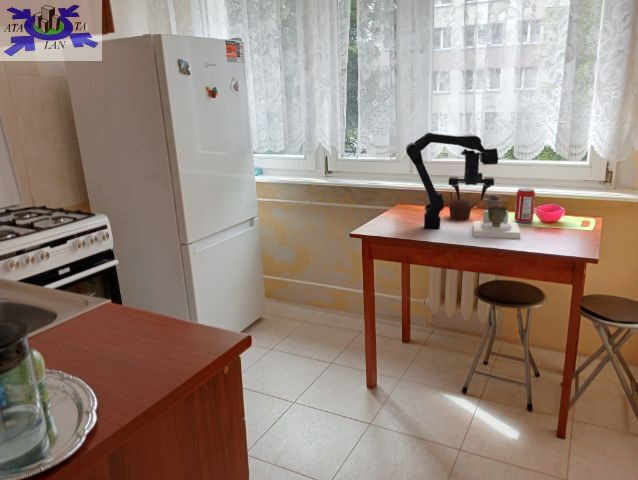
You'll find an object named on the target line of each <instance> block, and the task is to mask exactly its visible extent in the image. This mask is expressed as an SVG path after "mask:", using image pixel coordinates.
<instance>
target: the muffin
mask: <svg viewBox="0 0 638 480" xmlns="http://www.w3.org/2000/svg"><path fill="white" fill-rule="evenodd" d="M447 206H448V209H449V217H450V219H452V220H453V219H454V220H455V221H467V220H470V216H471V211H472V208H473V206H474V204H473V202H471V200H470V199H469V198H467V197H465V196H460V201H459V200H458V196H456V197H453V198H452V199H451V200H450V201H449V202H448V203H447ZM466 219H467V220H466ZM454 220H453V221H454Z"/></svg>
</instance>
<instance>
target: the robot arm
mask: <svg viewBox="0 0 638 480" xmlns="http://www.w3.org/2000/svg"><path fill="white" fill-rule="evenodd" d="M431 143H434V144H442V145H453V146H459V147H462V148H464V149H463V150H462V151H461V152H460V155H462V156H465V157H464V175H463V178H459V176H450V177H448V185H449V186H451V187H452V188H454V190H455V192H456V195H457V196H456V197H458V200H459V201H460V197H461V195H460V184H465V185H466V186H471V185H472V186H477V185H478V184H482V187H481V195H480V201H481V202H482V201H483V199H484V196H485V195H486V191H487V190H488V188H491V187H493V186H495V178H494V177H493V176H484V178H483V173H482V172H479V170H480V167H479V165H480V163H481V164H482V165H497V164H498V162H499V153H498V148H497V147H494V148H485V146H484V145H482V140H481V138H480V137H479V136H477V135H475V134H465V135H450V134H439V133H433V132H426V133H424V135H422V136H421V137H419V139H417V140H415V141H414V142H410V143H408V144H407V145H406V146H405V152H406V155H407V156H408V158H409V159H410V160H411V161H412V163H413V165H414V166H415V168H416V171H417V173H418V175H419V178H420V180H421V183H422V184H423V186H424V189H425V191H426V194H427V199H428V204H427V205H425V207H424V219H423V220H424V221H423V223H424V224H423V229H425V230H426V229H427V230H439V228H440V227H441V216H440V213H441V212H442V211H444V208H445V203H446V201H445V200H444V198H443V195H442V192H441V191H440V190H439V191H437V190H436V189H435V186H434V184H433V182H432V180H431V177H430V175H429V173H428V170H427V168H426V166H425V164H424V160H423V155H422V151H423V150H424V149H425V148H426V147H427V146H429V145H430V144H431ZM467 149H469V150H467ZM475 151H477V152H475Z"/></svg>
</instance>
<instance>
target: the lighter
mask: <svg viewBox="0 0 638 480" xmlns="http://www.w3.org/2000/svg"><path fill="white" fill-rule="evenodd" d="M485 195H486V196H485V197H486V198H484V209H483V211H484V210H488V207H489V206H490V207H492V206H493V208H494V206H496V207H497V206H498V207H499V208H500V206H501V207H502V202H503V200H502V199H500V196H501V195H497V194H495V193H494V194H489V193H486V194H485Z"/></svg>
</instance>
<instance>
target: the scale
mask: <svg viewBox="0 0 638 480" xmlns="http://www.w3.org/2000/svg"><path fill="white" fill-rule="evenodd" d="M482 216H483V217H482V221H478V220H477V221H476V220H475V221H473V222H472V224H473V226H472V227H473V237H476V238H477V237H478V238H479V237H480V238H496V239H497V238H501V239H504V238H505V239H521V230H520V228H519V225H518V222H509V221H508V220H509V211H508V210H506V215H505V219H504V221H503V222H501V225H500V226H499V227H495V226H492V222H491V221H490V220H489V217H488V210H484V209H483V215H482Z"/></svg>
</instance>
